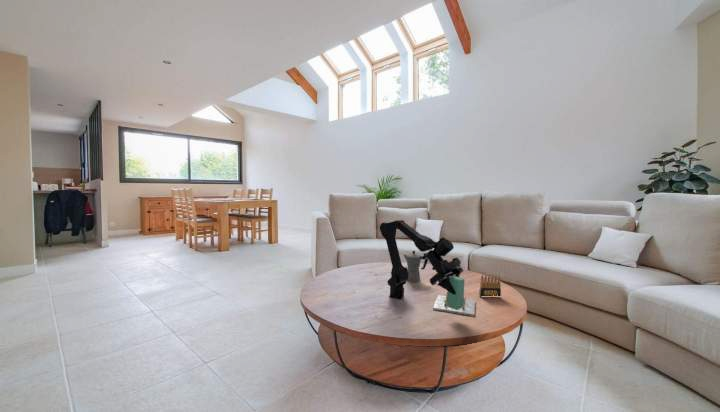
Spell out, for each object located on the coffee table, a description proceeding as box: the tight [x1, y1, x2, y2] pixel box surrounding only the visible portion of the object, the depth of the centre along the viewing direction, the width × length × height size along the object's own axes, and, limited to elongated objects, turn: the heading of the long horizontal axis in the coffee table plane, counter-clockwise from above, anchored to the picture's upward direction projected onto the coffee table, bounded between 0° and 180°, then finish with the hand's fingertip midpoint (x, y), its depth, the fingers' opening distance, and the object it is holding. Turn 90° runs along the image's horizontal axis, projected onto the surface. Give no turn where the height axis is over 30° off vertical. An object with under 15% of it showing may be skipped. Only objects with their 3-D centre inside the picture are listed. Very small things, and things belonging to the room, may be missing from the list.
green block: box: [446, 276, 465, 310], centre depth 130 cm, size 5×5×12 cm
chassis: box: [432, 293, 476, 317], centre depth 145 cm, size 18×18×4 cm
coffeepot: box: [402, 250, 429, 283], centre depth 183 cm, size 15×9×18 cm, turn 62°
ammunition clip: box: [478, 274, 502, 297], centre depth 157 cm, size 11×2×12 cm, turn 90°
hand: (458, 292), depth 129 cm, fingers closed on green block, 5 cm apart
